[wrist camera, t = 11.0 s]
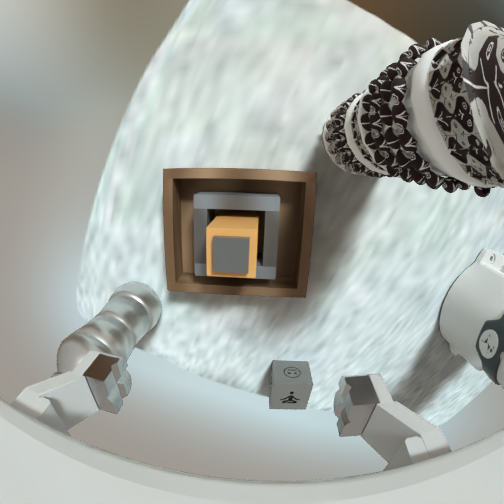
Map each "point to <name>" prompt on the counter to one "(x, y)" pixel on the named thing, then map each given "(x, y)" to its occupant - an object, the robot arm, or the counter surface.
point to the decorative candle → (429, 116)
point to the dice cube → (289, 385)
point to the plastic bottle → (112, 326)
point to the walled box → (249, 200)
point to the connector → (232, 244)
